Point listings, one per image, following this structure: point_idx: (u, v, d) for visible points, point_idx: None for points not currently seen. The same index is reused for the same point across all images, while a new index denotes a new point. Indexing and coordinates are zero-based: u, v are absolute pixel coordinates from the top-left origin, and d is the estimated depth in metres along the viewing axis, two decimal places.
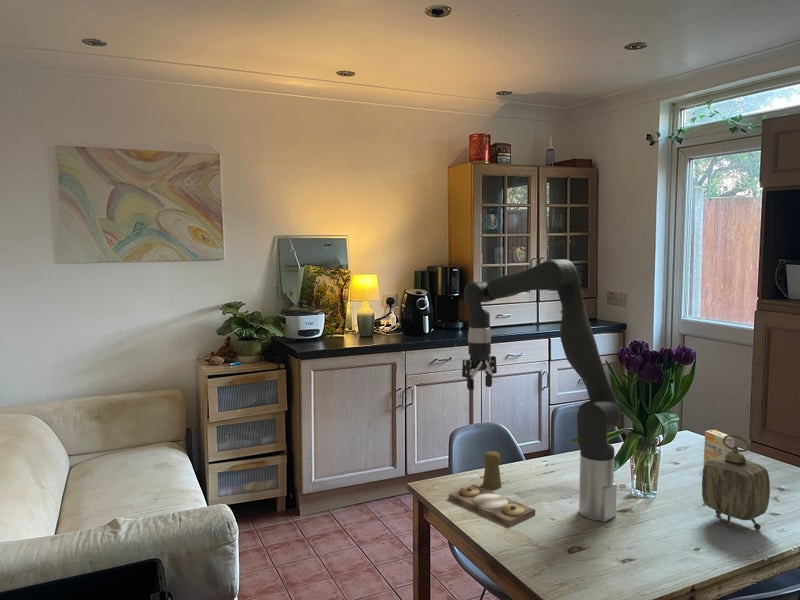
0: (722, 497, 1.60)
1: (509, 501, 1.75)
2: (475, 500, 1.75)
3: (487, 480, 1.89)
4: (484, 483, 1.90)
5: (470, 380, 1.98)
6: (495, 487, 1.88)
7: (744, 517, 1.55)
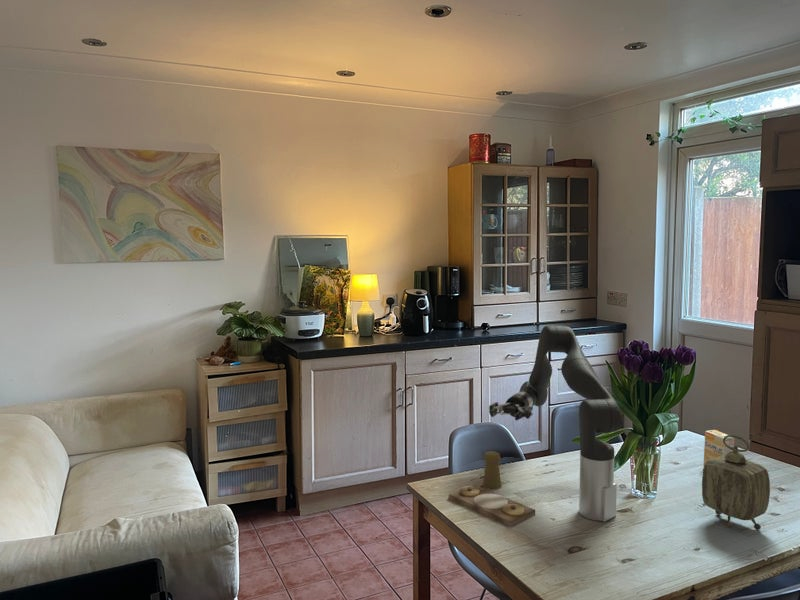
0: (722, 497, 1.60)
1: (509, 501, 1.75)
2: (475, 500, 1.75)
3: (487, 480, 1.89)
4: (484, 483, 1.90)
5: (493, 409, 2.04)
6: (495, 487, 1.88)
7: (744, 517, 1.55)
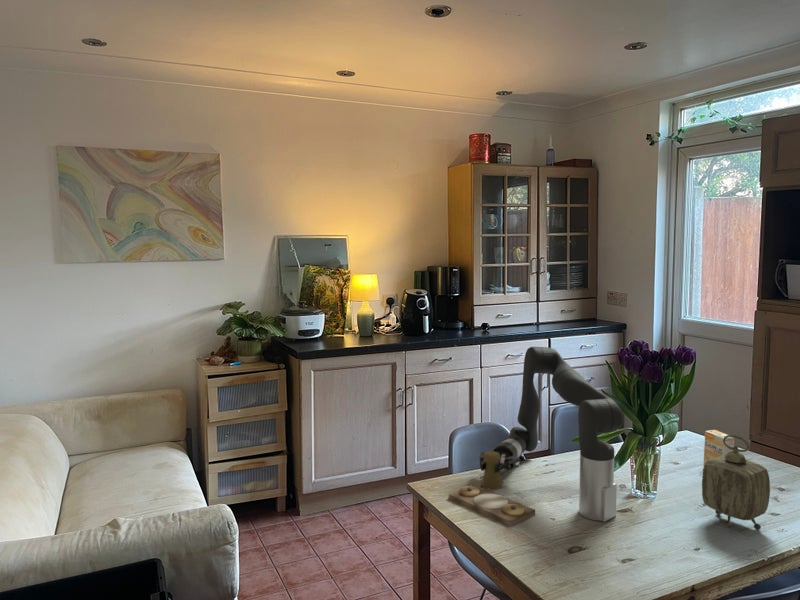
0: (722, 497, 1.60)
1: (509, 501, 1.75)
2: (475, 500, 1.75)
3: (487, 480, 1.89)
4: (484, 483, 1.90)
5: (483, 461, 1.92)
6: (495, 487, 1.88)
7: (744, 517, 1.55)
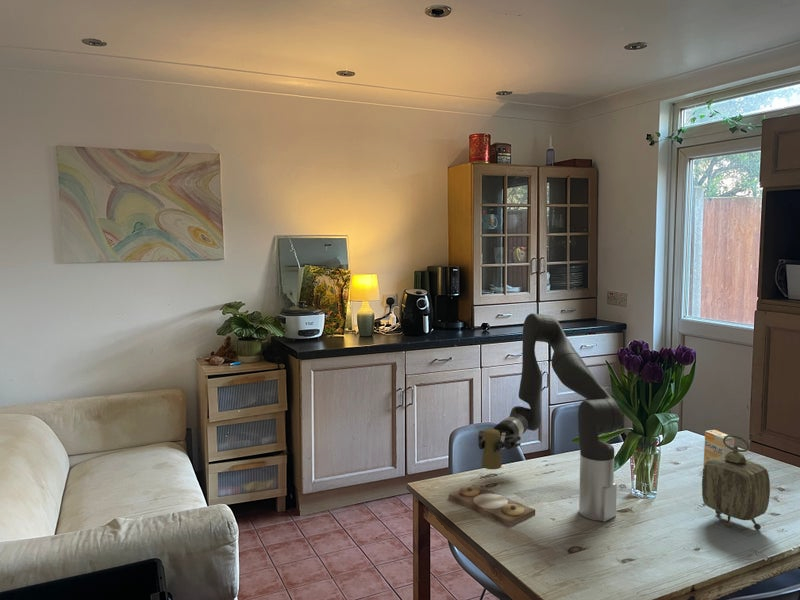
0: (722, 497, 1.60)
1: (509, 501, 1.75)
2: (475, 500, 1.75)
3: (486, 459, 1.76)
4: (483, 463, 1.77)
5: (482, 440, 1.79)
6: (495, 467, 1.75)
7: (744, 517, 1.55)
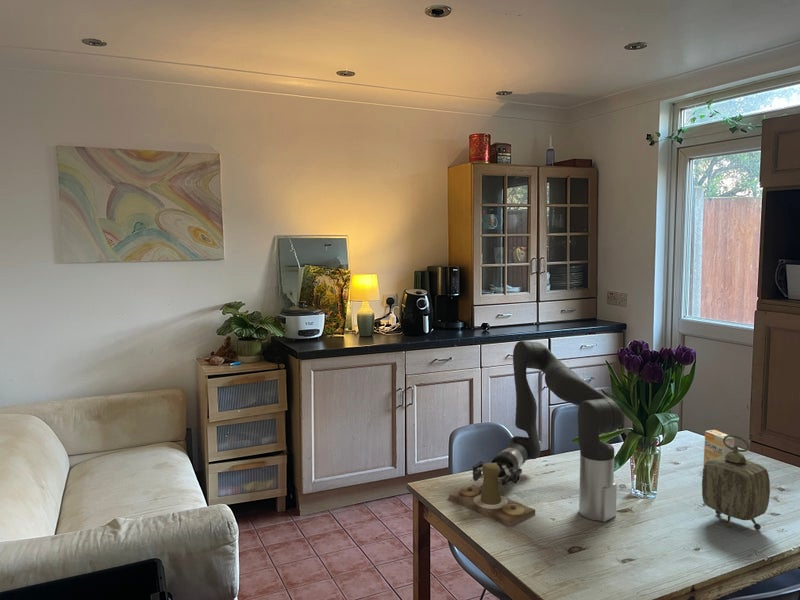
0: (722, 497, 1.60)
1: (509, 501, 1.75)
2: (475, 500, 1.75)
3: (485, 494, 1.73)
4: (482, 497, 1.74)
5: (476, 471, 1.78)
6: (494, 502, 1.73)
7: (744, 517, 1.55)
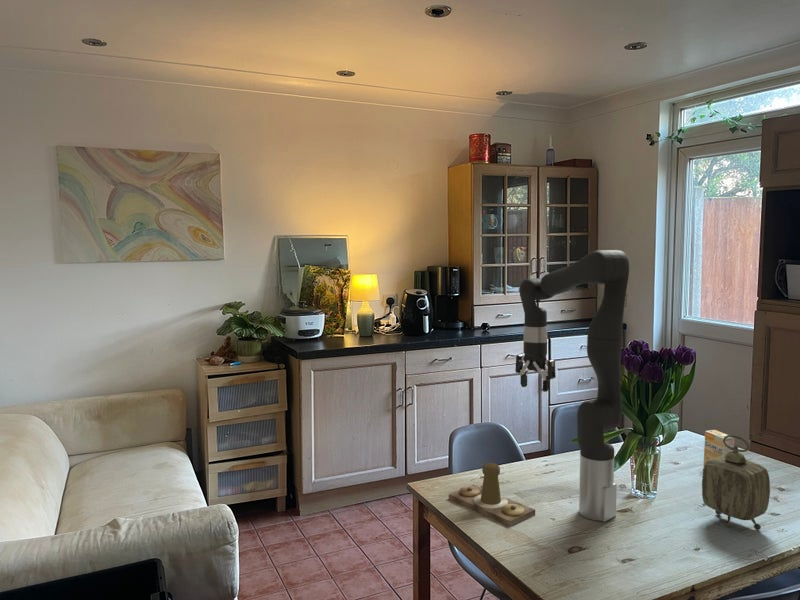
0: (722, 497, 1.60)
1: (509, 501, 1.75)
2: (475, 500, 1.75)
3: (485, 494, 1.73)
4: (482, 497, 1.74)
5: (521, 376, 1.97)
6: (494, 502, 1.73)
7: (744, 517, 1.55)
